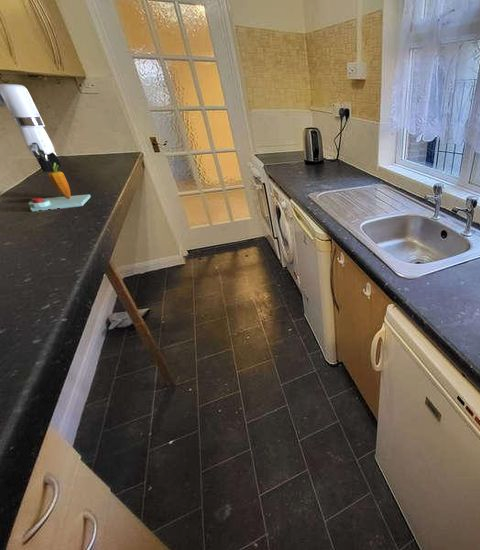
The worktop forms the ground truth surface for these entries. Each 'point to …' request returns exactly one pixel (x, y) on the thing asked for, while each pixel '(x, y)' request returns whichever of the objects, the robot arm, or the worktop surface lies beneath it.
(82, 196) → the scale
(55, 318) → the worktop surface
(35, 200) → the tare button
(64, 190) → the carrot
